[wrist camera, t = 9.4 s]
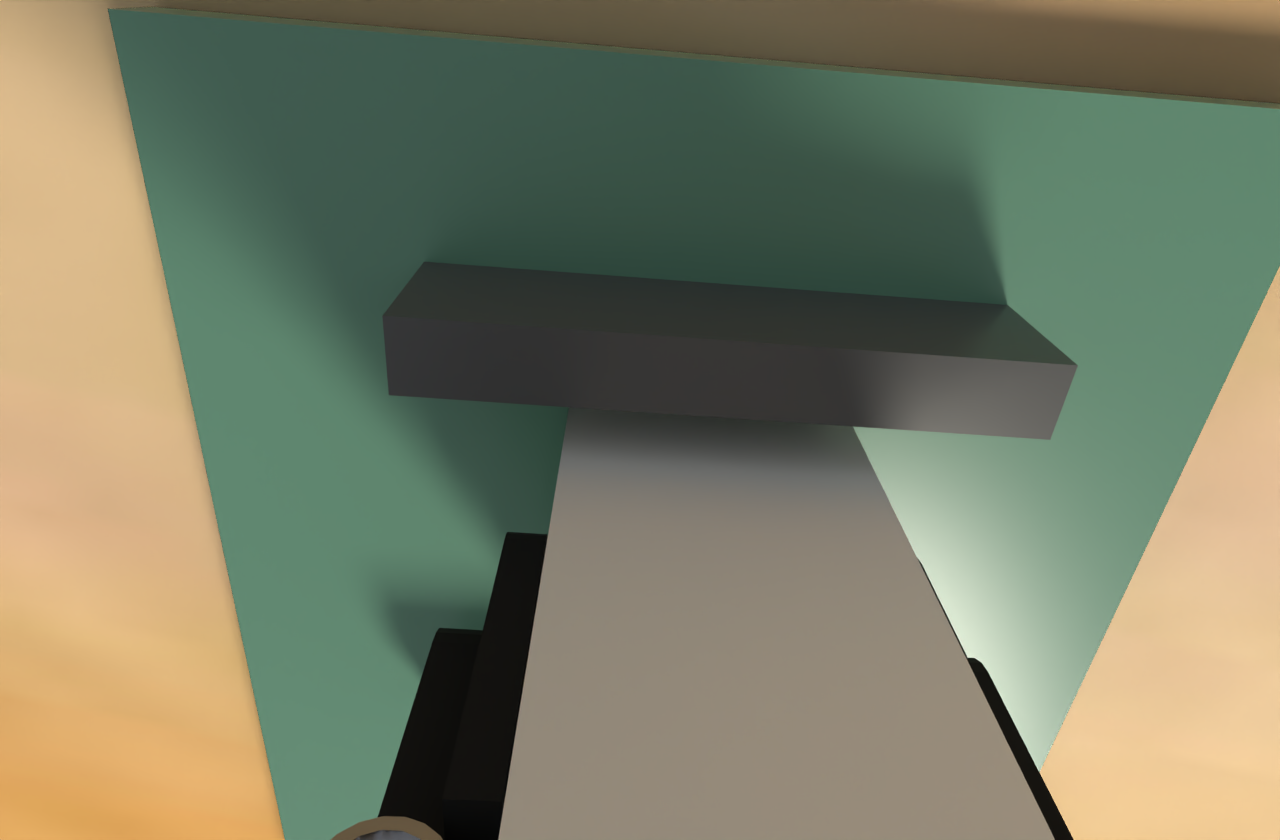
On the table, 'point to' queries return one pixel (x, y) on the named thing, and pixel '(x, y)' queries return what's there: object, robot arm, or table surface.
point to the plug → (745, 651)
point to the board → (668, 324)
